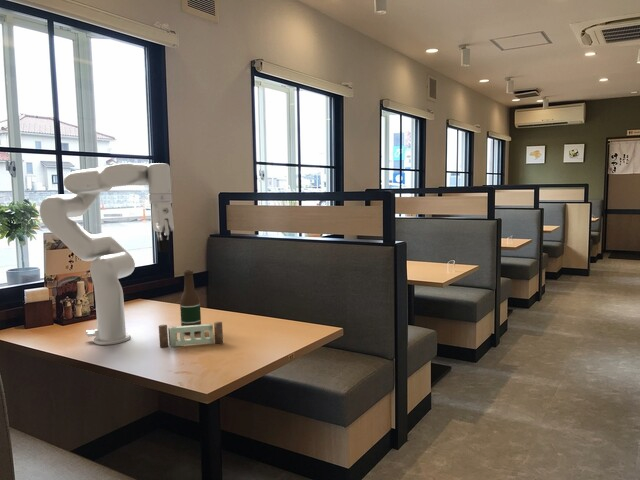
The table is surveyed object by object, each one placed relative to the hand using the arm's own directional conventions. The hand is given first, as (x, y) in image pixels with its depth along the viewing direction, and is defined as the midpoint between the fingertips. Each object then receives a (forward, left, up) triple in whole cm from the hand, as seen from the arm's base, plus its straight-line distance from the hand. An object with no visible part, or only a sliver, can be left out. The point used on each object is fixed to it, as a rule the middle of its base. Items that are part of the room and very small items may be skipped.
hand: (163, 251), depth 177 cm
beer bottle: (+6, +13, -33) cm, 36 cm away
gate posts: (+9, -3, -33) cm, 34 cm away
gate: (+9, -5, -33) cm, 34 cm away
